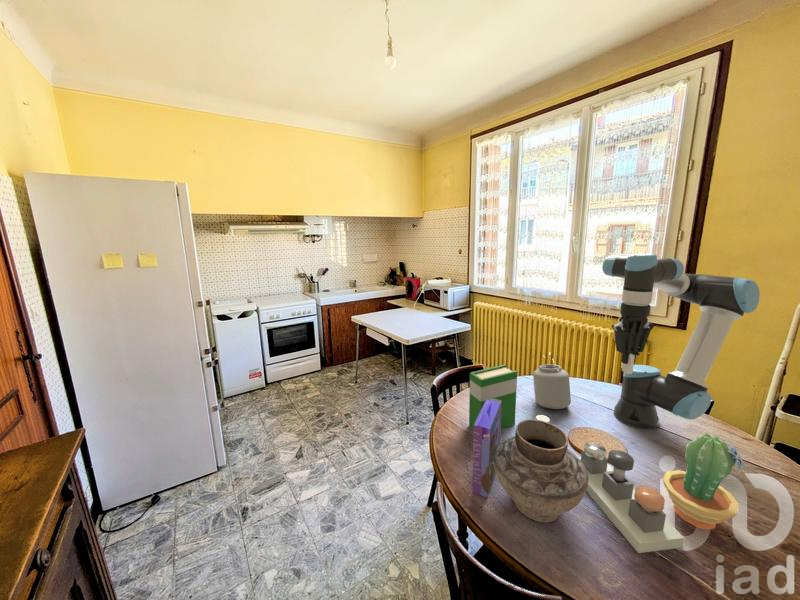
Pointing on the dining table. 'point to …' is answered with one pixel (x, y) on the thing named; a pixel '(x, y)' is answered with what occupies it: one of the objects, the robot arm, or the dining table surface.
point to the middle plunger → (620, 463)
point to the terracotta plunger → (649, 499)
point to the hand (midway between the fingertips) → (626, 372)
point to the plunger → (595, 451)
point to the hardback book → (493, 392)
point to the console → (629, 509)
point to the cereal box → (485, 446)
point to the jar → (552, 386)
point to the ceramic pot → (540, 471)
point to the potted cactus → (704, 482)
